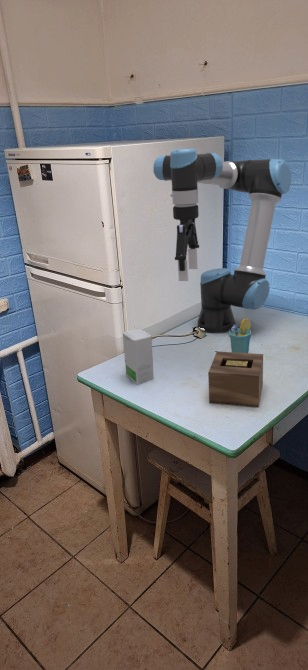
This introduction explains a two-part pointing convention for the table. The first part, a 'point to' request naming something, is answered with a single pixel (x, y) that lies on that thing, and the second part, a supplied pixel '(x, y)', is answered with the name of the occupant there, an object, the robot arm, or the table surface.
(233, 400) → the coin box
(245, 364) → the block
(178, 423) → the table surface
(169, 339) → the table surface
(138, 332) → the skincare box
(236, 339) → the cup
